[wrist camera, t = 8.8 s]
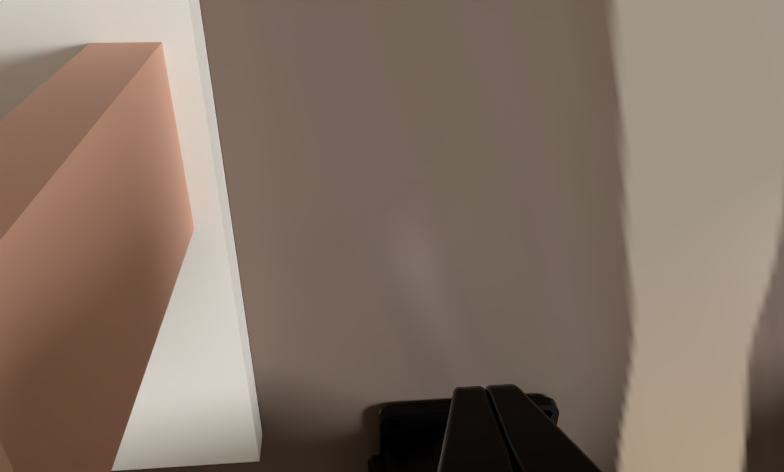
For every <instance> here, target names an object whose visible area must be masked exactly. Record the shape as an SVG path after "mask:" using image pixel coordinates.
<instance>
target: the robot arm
mask: <svg viewBox="0 0 784 472" xmlns="http://www.w3.org/2000/svg"><path fill="white" fill-rule="evenodd" d="M544 410H546V411H544ZM558 416H559V410H558V408H557V405H556V403H555V401H554V400H553V399H551V398H549V397H535V398H529V397H528V396H527V395H526V394H525V393H524V392H523V391H522V390H521V389H520V388H519V387H517V386H516V385H513V384H504V385H490V386H487V387H486V388H485V389H484V388H483V387H481V386H470V387H457V388H456V389H455V390H454V392H453V396H452V401H451V403H436V404H419V405H402V406H391V407H387V408H385V409H383V410H382V411H381V413H380V415H379V455H373V456H372V457H371V458H370V459H369V460H368V472H602V471H601V470H600V469H599V468H598V467H597V466H596V465H595V464H594V463H593V462H592V461H591V460H590V459H589V458H588V457H587V456H586V455H585V454H584V453H583V452H582V451H581V449H580V448H579V447H578V446H577V445H576V444H575V443H574V442H573V441H572V440H571V439H570V438H569V437H568V436H567V435H566V434H565V433H564V432H563V431H562V430H561V429H560V428H559V427H558V426H557V421H558ZM393 419H395V421H390V420H393Z"/></svg>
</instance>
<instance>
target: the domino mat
mask: <svg viewBox="0 0 784 472" xmlns="http://www.w3.org/2000/svg"><path fill="white" fill-rule="evenodd" d="M127 42H162V45H163V51H164V57H165V62H166V68H167V74H168V80H169V85H170V91H171V97H172V103H173V108H174V114H175V120H176V125H177V131H178V137H179V143H180V148H181V154H182V160H183V166H184V171H185V177H186V183H187V189H188V194H189V200H190V206H191V212H192V217H193V223H194V231H193V234H192V237H191V240H190V243H189V246H188V249H187V252H186V254H185V257H184V260H183V263H182V266H181V269H180V272H179V275H178V278H177V281H176V284H175V287H174V289H173V292H172V295H171V298H170V301H169V304H168V307H167V310H166V313H165V316H164V319H163V322H162V324H161V327H160V330H159V333H158V336H157V339H156V342H155V345H154V348H153V351H152V354H151V357H150V359H149V362H148V365H147V368H146V371H145V374H144V377H143V380H142V383H141V386H140V389H139V392H138V394H137V397H136V400H135V403H134V406H133V409H132V412H131V415H130V418H129V421H128V424H127V427H126V429H125V432H124V435H123V438H122V441H121V444H120V447H119V450H118V453H117V456H116V459H115V462H114V465H113V467H112V470H111V471H119V470H134V469H150V468H165V467H180V466H195V465H211V464H226V463H241V462H256V461H260V452H261V442H262V428H261V421H260V415H259V408H258V401H257V394H256V387H255V380H254V373H253V367H252V360H251V353H250V346H249V339H248V332H247V326H246V319H245V312H244V305H243V298H242V291H241V284H240V278H239V271H238V264H237V257H236V250H235V243H234V236H233V230H232V223H231V216H230V209H229V202H228V195H227V189H226V182H225V175H224V168H223V161H222V154H221V147H220V141H219V134H218V127H217V120H216V113H215V106H214V99H213V93H212V86H211V79H210V72H209V65H208V58H207V52H206V45H205V38H204V31H203V24H202V17H201V10H200V4H199V0H0V120H1V119H2V118H4V117H5V116H6V115H7V114H8V113H9V112H11V111H12V110H13V109H14V108H15V107H16V106H18V105H19V104H20V103H21V102H22V101H23V100H25V99H26V98H27V97H28V96H29V95H30V94H32V93H33V92H34V91H35V90H36V89H37V88H39V87H40V86H41V85H42V84H43V83H44V82H45V81H47V80H48V79H49V78H50V77H51V76H52V75H54V74H55V73H56V72H57V71H58V70H59V69H61V68H62V67H63V66H64V65H65V64H66V63H68V62H69V61H70V60H71V59H72V58H73V57H75V56H76V55H77V54H78V53H79V52H80V51H82V50H83V49H84V48H85V47H86V46H87V45H89V44H90V43H127Z"/></svg>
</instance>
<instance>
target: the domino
mask: <svg viewBox="0 0 784 472" xmlns="http://www.w3.org/2000/svg"><path fill="white" fill-rule="evenodd" d="M193 231H194V223H193V217H192V212H191V206H190V200H189V194H188V189H187V183H186V177H185V171H184V166H183V160H182V154H181V148H180V143H179V137H178V131H177V125H176V120H175V114H174V108H173V103H172V97H171V91H170V85H169V80H168V74H167V68H166V62H165V57H164V51H163V45H162V42H127V43H90V44H89V45H87V46H86V47H85V48H84V49H83V50H82V51H80V52H79V53H78V54H77V55H76V56H75V57H73V58H72V59H71V60H70V61H69V62H68V63H66V64H65V65H64V66H63V67H62V68H61V69H59V70H58V71H57V72H56V73H55V74H54V75H52V76H51V77H50V78H49V79H48V80H47V81H45V82H44V83H43V84H42V85H41V86H40V87H39V88H37V89H36V90H35V91H34V92H33V93H32V94H30V95H29V96H28V97H27V98H26V99H25V100H23V101H22V102H21V103H20V104H19V105H18V106H16V107H15V108H14V109H13V110H12V111H11V112H9V113H8V114H7V115H6V116H5V117H4V118H2V119H1V120H0V472H111V470H112V467H113V465H114V462H115V459H116V456H117V453H118V450H119V447H120V444H121V441H122V438H123V435H124V432H125V429H126V427H127V424H128V421H129V418H130V415H131V412H132V409H133V406H134V403H135V400H136V397H137V394H138V392H139V389H140V386H141V383H142V380H143V377H144V374H145V371H146V368H147V365H148V362H149V359H150V357H151V354H152V351H153V348H154V345H155V342H156V339H157V336H158V333H159V330H160V327H161V324H162V322H163V319H164V316H165V313H166V310H167V307H168V304H169V301H170V298H171V295H172V292H173V289H174V287H175V284H176V281H177V278H178V275H179V272H180V269H181V266H182V263H183V260H184V257H185V254H186V252H187V249H188V246H189V243H190V240H191V237H192V234H193Z"/></svg>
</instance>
